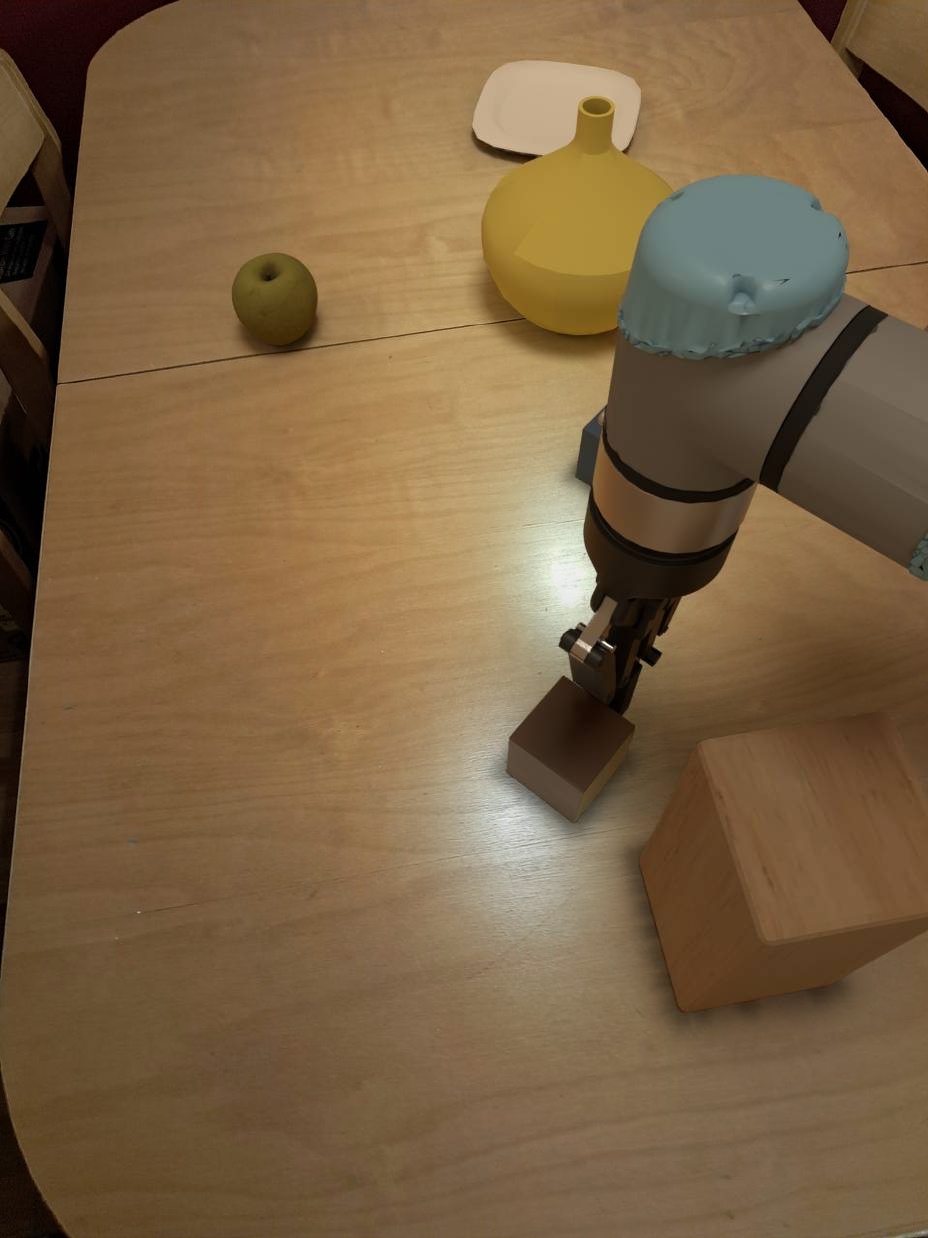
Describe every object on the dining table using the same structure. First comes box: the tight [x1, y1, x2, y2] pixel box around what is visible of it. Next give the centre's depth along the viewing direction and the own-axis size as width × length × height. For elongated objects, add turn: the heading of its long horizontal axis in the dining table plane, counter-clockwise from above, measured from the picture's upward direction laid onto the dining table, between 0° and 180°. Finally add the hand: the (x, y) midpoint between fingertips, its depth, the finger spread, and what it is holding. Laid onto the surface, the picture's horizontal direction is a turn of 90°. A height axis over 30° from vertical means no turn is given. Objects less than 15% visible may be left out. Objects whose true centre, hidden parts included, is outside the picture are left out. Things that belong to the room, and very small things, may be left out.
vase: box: [480, 96, 675, 336], centre depth 83 cm, size 18×18×19 cm
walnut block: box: [505, 674, 637, 824], centre depth 64 cm, size 6×6×6 cm
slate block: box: [575, 403, 607, 487], centre depth 78 cm, size 6×6×6 cm
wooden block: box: [638, 709, 928, 1013], centre depth 52 cm, size 10×10×20 cm
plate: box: [471, 59, 642, 158], centre depth 106 cm, size 18×18×2 cm
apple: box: [231, 252, 319, 346], centre depth 86 cm, size 8×8×7 cm
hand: (606, 704), depth 66 cm, fingers closed
